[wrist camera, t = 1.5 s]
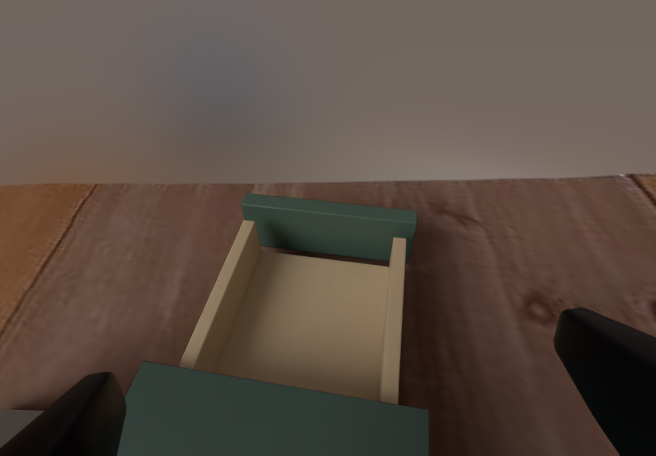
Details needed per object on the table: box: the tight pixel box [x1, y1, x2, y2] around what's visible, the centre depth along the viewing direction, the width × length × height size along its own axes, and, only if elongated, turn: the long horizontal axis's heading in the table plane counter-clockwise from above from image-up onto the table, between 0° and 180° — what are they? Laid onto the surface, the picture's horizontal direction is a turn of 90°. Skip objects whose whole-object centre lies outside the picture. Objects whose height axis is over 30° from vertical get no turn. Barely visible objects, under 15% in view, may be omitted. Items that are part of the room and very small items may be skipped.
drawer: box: [178, 193, 417, 404], centre depth 23 cm, size 17×12×4 cm
